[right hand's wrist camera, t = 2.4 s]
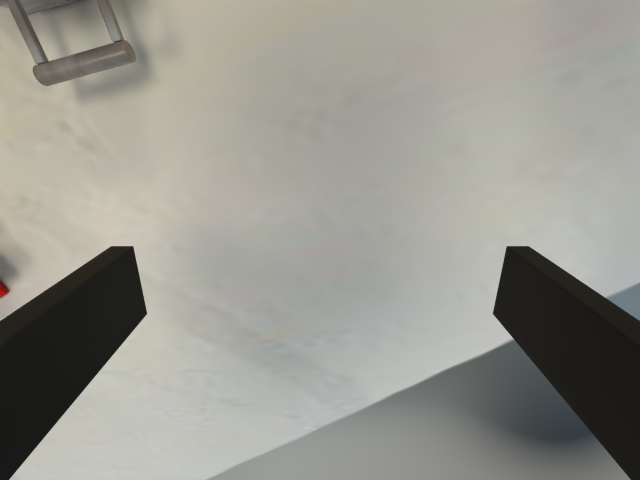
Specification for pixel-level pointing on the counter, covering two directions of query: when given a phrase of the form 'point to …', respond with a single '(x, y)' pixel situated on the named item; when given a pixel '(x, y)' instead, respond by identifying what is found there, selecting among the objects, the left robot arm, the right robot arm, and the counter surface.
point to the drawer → (74, 65)
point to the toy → (3, 290)
